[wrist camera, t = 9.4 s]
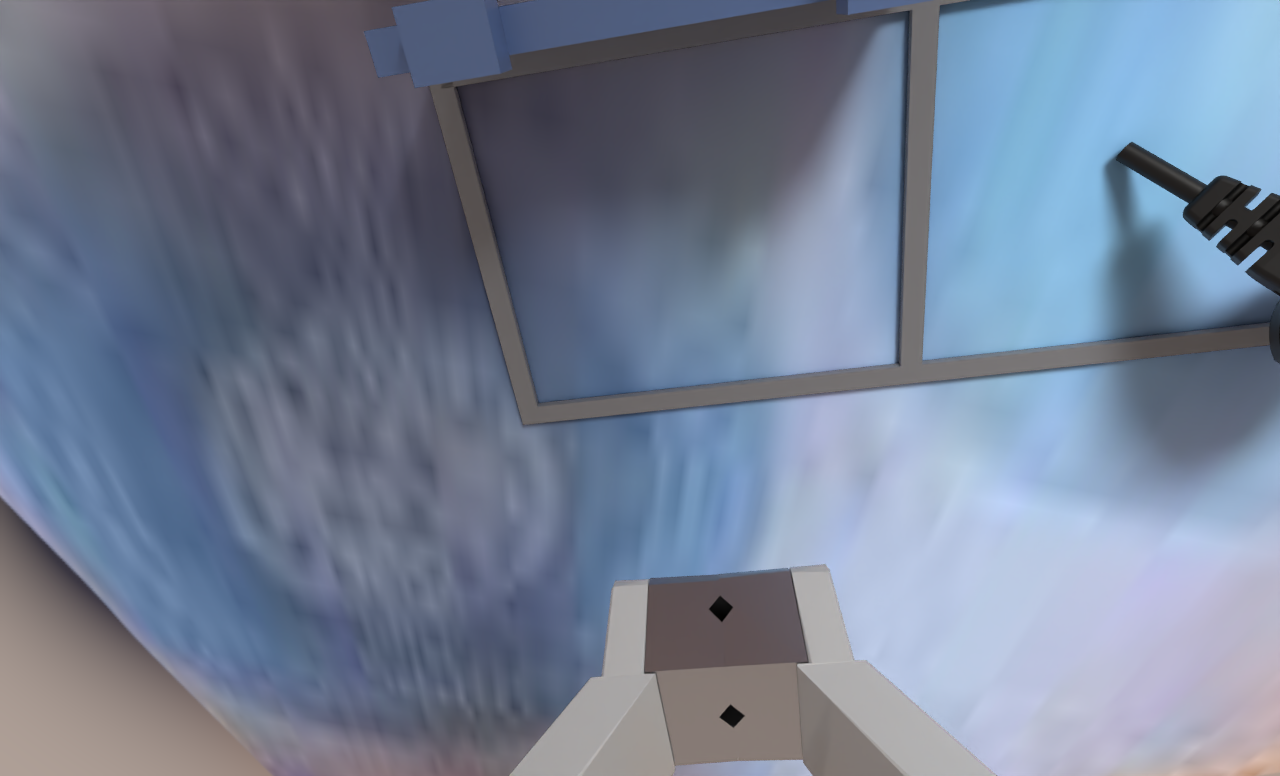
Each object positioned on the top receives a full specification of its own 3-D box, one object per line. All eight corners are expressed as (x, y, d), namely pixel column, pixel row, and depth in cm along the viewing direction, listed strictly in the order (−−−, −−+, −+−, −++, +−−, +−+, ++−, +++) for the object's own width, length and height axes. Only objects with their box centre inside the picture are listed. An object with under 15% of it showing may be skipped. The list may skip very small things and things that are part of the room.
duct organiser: (414, 19, 22) (287, 26, 15) (1541, -185, 18) (2093, -307, 11) (524, 421, 29) (475, 555, 22) (1347, 332, 26) (1607, 459, 18)
